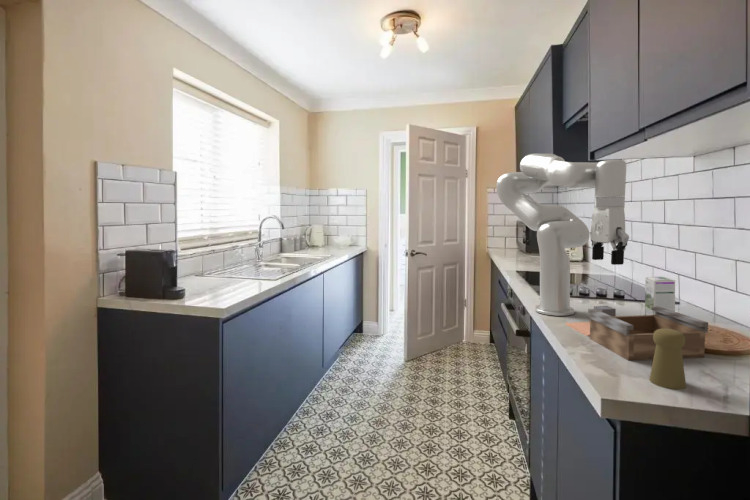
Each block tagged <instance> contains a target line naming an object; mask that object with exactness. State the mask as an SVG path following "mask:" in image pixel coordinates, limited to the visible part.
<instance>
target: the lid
mask: <svg viewBox="0 0 750 500" xmlns="http://www.w3.org/2000/svg"><path fill="white" fill-rule="evenodd" d="M593 309H596V310H598V311H601V312H603V313H605V314H608V315H610V316H612V317H613V316H616V308H614V307H611V306H609V305H595V306H593ZM564 324H565V326H568V327H569V328H571V329H573V330H574V331H577V332H579V333H581V334H582V335H585V336H586V337H590V321H585V322H584V321H581V322H580V321H579V322H578V321H577V322H565V323H564Z"/></svg>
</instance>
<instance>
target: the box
mask: <svg viewBox="0 0 750 500" xmlns="http://www.w3.org/2000/svg"><path fill="white" fill-rule="evenodd" d="M652 310H653V311H655V315H645V314H644V315H642V314H641V315H622V316H621V315H618V316H613V317H612V316H610V315H608V314H605V313H603V312H601V311H598V310H596V309H594V308H588V309H587V317H588V319H589V322H590V336H589V340H592V341H593V342H595V343H597V344H599V346H600V345H601V347H603V348H604V347H605V349H607V350H609V351H611V352H612V353H615V354H616V355H618V356H619V357H622V358H623V359H625V360H627V361H647V360H649V361H650V360H653V359H654V354H655V349H656V344H655V342H654V340H653V335H654V332H655V331H656V330H658V329H672V330H677V331H679V332H681V333H683V335H684V336H685V344H684V346H683V347H682V348H681V349H682V357H683V359H694V358H695V359H696V358H697V359H698V358H699V359H700V358H705V351H706V350H705V347H706V346H705V345H706V333H708V332H709V322H708V321H706V320H701V319H698V318H696V317H693V316H689V315H686V314H683V313H680V312H676V311H675V312H674V311H671V310H668V309H665V308H661V307H658V306H652Z"/></svg>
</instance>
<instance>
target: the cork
mask: <svg viewBox="0 0 750 500" xmlns="http://www.w3.org/2000/svg"><path fill="white" fill-rule="evenodd" d="M653 340H654V342H655V344H656V349H655V354H654V359H652V365H651V370H650V375H649V381H650V383H652V384H654V385H656V386H658V387H661V388H665V389H671V390H682V389H683V390H684V389H685V388H687V381H686V374H685V367H684V358H683V357H682V349H681V348H682V347H683V346H684V344H685V336H684V335H683V333H681V332H679V331H677V330H672V329H658V330H656V331H655V332H654V335H653Z"/></svg>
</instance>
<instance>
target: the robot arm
mask: <svg viewBox="0 0 750 500" xmlns="http://www.w3.org/2000/svg"><path fill="white" fill-rule="evenodd" d="M519 169H520V171H513V172H512V171H511V172H506V173H504V174H502V175H500V176H499V177H498V179H497V181H496V192H497V195H498V198H499V200H500V202H501V203H502V204H503V205H504V206H505V207H506V208H507V209H508V210H509V211H511V212H512V213H513V214H514V215H515V216H516V217H517V218H518V219H519V220H520V221H521V222H522V223H523V224H524V225H525V226H526V227H528V228H529V229H530V231H534V232H536V239H537V245H538V251H539V252H538V253H539V297H538V299H539V304H538V305H535V307H534V311H535V312H537V313H540V314H542V315H548V316H556V317H557V316H559V317H560V316H561V317H563V316H565V317H566V316H572V315H574V314H575V313H576V312H575V308H573V307H571V305H570V304H571V291H570V290H571V262H570V257H569V255H568V253H567V251H566V249H573V248H580V247H583V246H585V245H586V244H587V243H588V242H589V240H590V241H591V247H592V251H591V254H592V255H591V259H592V260H593V261H602V260H604V257H605V255H604V252H605V251H604V250H605V246H604V244H609V243H610V246H611V248H612V250H611V251H610V253H611V254H610V255H611V257H610V264H611V265H613V266H615V265H616V266H617V265H618V266H619V265H621V266H622V265H624V263H625V262H624V261H625V260H624V257H625V251H626V249H627V248H626V247H628V241H629V239H630V236H629V234H627V233H626V215H625V207H626V203H625V202H626V180H627V163H626V161H625V160H624V159H608V160H607V159H606V160H602V161H601V160H600V161H598V162H584V161H583V162H581V161H579V162H577V161H576V162H572V161H565V159H564V158H563V157H561V156H558V155H556V154H554V153H535V152H534V153H529V154H526V155H525V156H523V158H522V159H521V160H520V163H519ZM549 183H550V184H551V185H555V186H559V187H565V188H572V189H573V188H594V209H593V213H592V216H591V217H592V218H591V222H590V223H591V224H590V231H589V228H588V226H587V224H586V223H585V222H584V221H583V220H581V218H579V217H578V216H577V215H575V214H574V213H573V212H572V211H571V210H569V209H568V208H566V207H565V206H562V205H559V204H540V203H538V202H537V201H536V200H535V199H534V198H533V197H531V196H530V195H527V194H536V193H537V192H540V191H541V190H542V189H543V188H545V187H546V186H547V184H549Z"/></svg>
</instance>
